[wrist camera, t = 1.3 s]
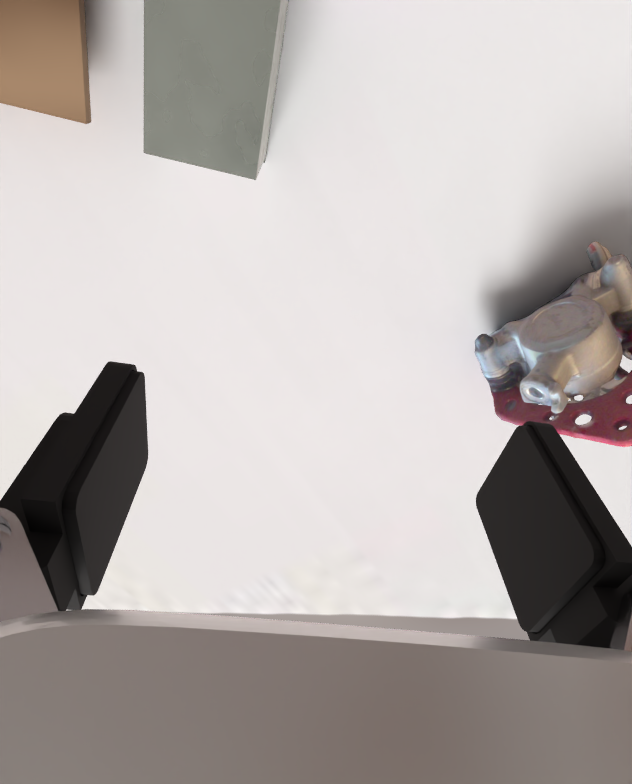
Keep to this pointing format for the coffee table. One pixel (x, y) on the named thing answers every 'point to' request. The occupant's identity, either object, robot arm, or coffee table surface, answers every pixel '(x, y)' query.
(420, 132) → the coffee table surface
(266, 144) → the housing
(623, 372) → the brake caliper
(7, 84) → the stand
